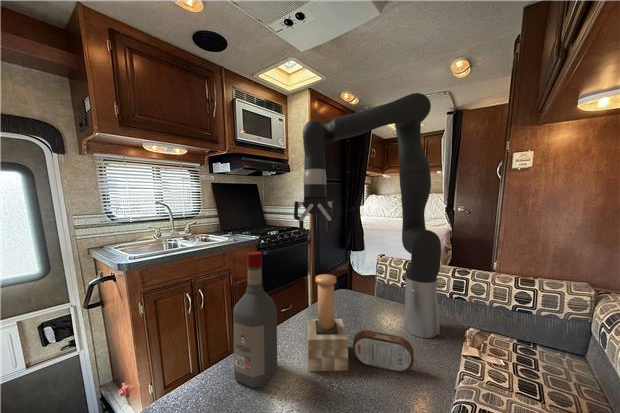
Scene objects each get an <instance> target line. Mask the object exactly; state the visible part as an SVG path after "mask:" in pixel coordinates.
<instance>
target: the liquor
mask: <svg viewBox="0 0 620 413" xmlns="http://www.w3.org/2000/svg"><path fill="white" fill-rule="evenodd" d="M246 267H247V287H246V292H245V294H244V295H243V296H242V297H241V298H240V299H239V301H238V302H237V303H236V304H235V305H234V307H233V310H232V311H233V313H232V314H233V315H232V316H233V319H232V320H233V364H234V365H233V366H234V367H233V368H234V369H233V370H234V372H233V374H234V380H235V381H236V382H238V383H240V384H242V385H243V386H244V385H245V386H247V387H249V388H252V389H254V388H258V387H262V386H264V385H265V384H266V383H267V382H268V381H269V380H270V379H271V377H272V376H273V375H274V374H275V373H276V372H277V369H278V315H277V314H278V307H277V306H276V303H275V301H274V299H273V298H272V297H271V296H269V295H268V293H266V291H264V287H263V277H262V276H263V273H262V271H263V270H262V269H263V268H262V267H263V252H262V251H255V250H254V251H249V252H247V253H246Z"/></svg>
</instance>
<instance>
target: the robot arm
mask: <svg viewBox="0 0 620 413" xmlns="http://www.w3.org/2000/svg"><path fill="white" fill-rule="evenodd" d="M431 104H432V102H431V100H430V99H429V97H428V96H427V95H426V94H423V93H420V92H414V93H410V94H407V95H405V96H403V97H399V98H398V99H395V100H393V101H391V102H388V103H386V104H382V105H379V106H376V107H373V108H370V109H367V110H362V111H359V112H358V111H357V112H354V113H350V114H346V115H342V116H337V117H334V118H332V119H331V121H329V122H327V123H324V124H322V122H320V121H319V120H314V119H312V120H309V121H308V122H306V123H305V124H304V125H303V130H302V142H303V151H304V158H303V160H304V162H303V163H304V165H303V166H304V167H303V169H304V172H303V201H296V200H295V201H294V205H293V206H294V208H293V219H294V220H297V221H298V222H299V225H298V227H299V231H301V233H304V231H305V228H304V225H305V224H304V219H305V218H306V216H308V214H310V215H315V214H316V215H320V214H323V215H324V216H323V217H325V218H326V233H330V231H331V230H332V221H333V220H336V219H338V215H337V213H338V212H337V202H336V201H335V200H332V201H328V200H327V174H326V156H325V155H326V154H325V145H328V144H330V143H333V142H335V141H338V140H342V139H343V140H344V139H348V138H353V137H356V136H360V135H363V134H366V133H368V132H371V131H373V130H376V129H379V128H382V127H384V126H389V125H393V124H394V128H395V132H396V136H397V137H396V138H397V144H398V145H397V146H398V147H397V148H398V171H399V173H398V175H399V187H400V199H401V210H402V226H401V230H402V231H401V242H402V243H401V244H402V246H403V249H404V250H405V251H406V252H408V253H409V254H410V256H411V257H410V265H409V266H407V267H405V307H404V308H405V317H404V318H405V320H404V323H405V325H404V326H405V330H406V331H407V332H408V333H409V334H411V335H412V336H416V337H418V338H423V339H425V338H426V339H431V338H435V337H436V336H439V335H440V331H441V330H440V328H441V327H440V326H441V325H440V320H441V318H440V317H441V316H440V315H441V314H440V312H441V311H440V310H441V307H440V304H439V303H438V301H437V300H438V275H439V273H440V271H441V270H440V269H441V260H442V243H441V239H440V236H439V235H438V234H437V233H436V232H434V231H433V230H429V229H426V219H425V213H426V212H425V210H426V206H427V203H428V201H429V197H430V194H431V188H432V178H431V177H432V176H431V167H430V162H429V160H428V157H427V155H426V153H425V149H424V148H423V144H422V135H421V134H422V133H421V132H422V131H421V130H422V129H421V127H422V126H421V125H422V123H423V121H424V120H425V119H426V118H427V117H428V116H429V114H430V112H431V108H432V105H431ZM301 206H302V207H304V209H305V210H304V211H303V213H301V216H300V215H299V209H300V208H301ZM327 206H329V208H331V216H330V215H329V213H328V211H326V208H327Z"/></svg>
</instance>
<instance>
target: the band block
mask: <svg viewBox="0 0 620 413" xmlns="http://www.w3.org/2000/svg"><path fill="white" fill-rule="evenodd" d="M346 331H347V330H346V328H345V325H344V322H343V319H342V318H334V327H333V328H332V329H329V330H324V329H321V328H319V327H318V318H311V319H307V371H308V372H327V371H329V372H331V371H333V372H334V371H336V372H339V371H349V339H348V335H347V332H346Z"/></svg>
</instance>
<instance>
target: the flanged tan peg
mask: <svg viewBox="0 0 620 413" xmlns="http://www.w3.org/2000/svg"><path fill="white" fill-rule="evenodd" d="M315 283H316V284H317V319H318V327H319V328H321V329H324V330H329V329H332V328H333V327H334V319H335V284H336V283H337V276H335V275H333V274H327V273H326V274H325V273H323V274H318V275H316V276H315Z"/></svg>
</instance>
